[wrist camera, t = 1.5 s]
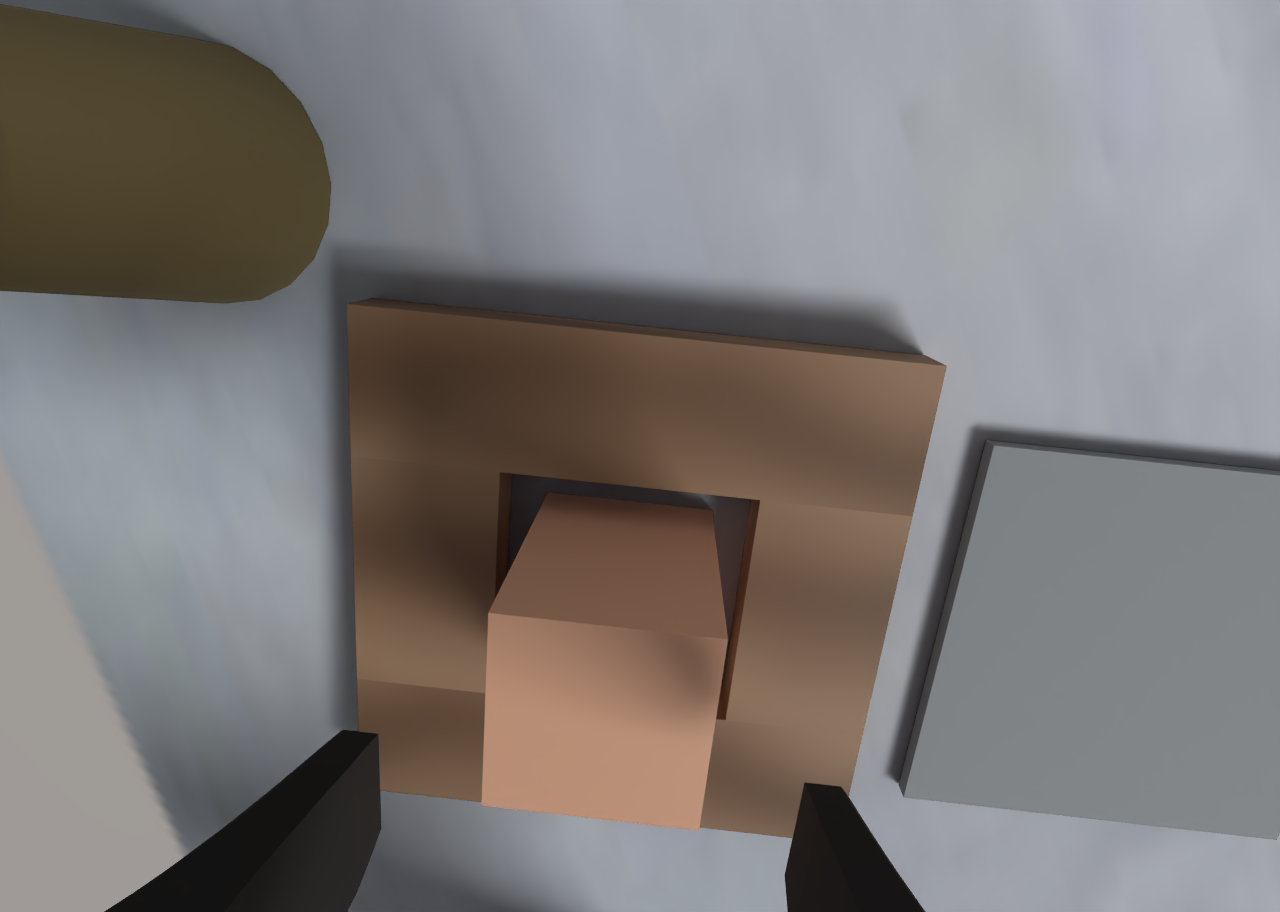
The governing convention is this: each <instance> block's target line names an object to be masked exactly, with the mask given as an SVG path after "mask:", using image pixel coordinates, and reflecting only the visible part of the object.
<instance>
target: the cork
mask: <svg viewBox="0 0 1280 912" xmlns="http://www.w3.org/2000/svg"><path fill="white" fill-rule="evenodd" d="M330 193H331V181H330V177H329V172H328V168H327V163H326V158H325V154H324V149H323V145H322V141H321V139H320V138H319V136H318V134H317V132H316V130H315V128H314V126H313V124H312V122H311V120H310V118H309V117H308V115H307V113H306V111H305V109H304V107H303V105H302V103H301V102H300V101H299V100H298V99H297V98H296V97H295V95H294V94H293V93H292V92H291V91H290V90H289V89H288V88H287V87H286V86H285V85H284V84H283V83H282V82H281V80H280V79H279V78H278V77H277V76H276V75H275V74H274V73H273V72H272V71H271V70H270V69H268V68H267V67H265V66H263V65H262V64H260V63H258V62H257V61H255V60H253V59H252V58H250V57H248V56H247V55H245V54H243V53H242V52H240V51H238V50H237V49H235V48H233V47H229V46H225V45H220V44H216V43H212V42H207V41H203V40H198V39H194V38H189V37H183V36H177V35H172V34H166V33H160V32H155V31H149V30H144V29H138V28H132V27H127V26H121V25H115V24H110V23H104V22H98V21H93V20H87V19H82V18H76V17H70V16H65V15H59V14H53V13H48V12H42V11H36V10H31V9H25V8H20V7H14V6H8V5H3V4H0V291H15V292H32V293H50V294H68V295H85V296H103V297H121V298H138V299H156V300H174V301H191V302H209V303H233V302H242V301H251V300H260V299H262V298H264V297H266V296H268V295H270V294H272V293H274V292H276V291H278V290H280V289H282V288H284V287H286V286H288V285H290V284H291V283H292V282H293V281H294V280H295V279H296V278H297V276H298V275H299V274H300V273H301V272H302V271H303V270H304V269H305V268H306V267H307V266H308V265H309V263H310V262H311V261H312V260H313V259H314V257H315V255H316V252H317V250H318V248H319V245H320V243H321V240H322V238H323V236H324V233H325V231H326V228H327V226H328V219H329V206H330Z"/></svg>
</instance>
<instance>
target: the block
mask: <svg viewBox="0 0 1280 912" xmlns="http://www.w3.org/2000/svg"><path fill="white" fill-rule="evenodd" d="M727 643H728V635H727V627H726V619H725V611H724V603H723V594H722V586H721V578H720V570H719V562H718V554H717V546H716V538H715V530H714V522H713V514H712V510H708V509H698V508H689V507H680V506H671V505H661V504H652V503H643V502H633V501H624V500H615V499H605V498H596V497H587V496H577V495H568V494H559V493H549V492H548V493H547V495H546V497H545V499H544V501H543V503H542V505H541V507H540V509H539V511H538V513H537V515H536V517H535V519H534V522H533V524H532V526H531V528H530V530H529V532H528V534H527V536H526V538H525V540H524V542H523V544H522V546H521V548H520V550H519V552H518V554H517V556H516V558H515V560H514V562H513V564H512V566H511V568H510V570H509V572H508V574H507V576H506V578H505V580H504V582H503V584H502V586H501V588H500V590H499V592H498V594H497V596H496V598H495V600H494V602H493V604H492V606H491V608H490V611H489V613H488V636H487V665H486V693H485V721H484V750H483V778H482V806H491V807H499V808H508V809H517V810H525V811H534V812H543V813H551V814H560V815H568V816H577V817H586V818H594V819H603V820H612V821H620V822H629V823H637V824H646V825H655V826H663V827H672V828H680V829H689V830H698V831H699V827H700V821H701V814H702V807H703V801H704V794H705V788H706V781H707V775H708V768H709V761H710V755H711V748H712V742H713V735H714V729H715V722H716V716H717V709H718V702H719V696H720V689H721V683H722V676H723V670H724V663H725V656H726V650H727Z"/></svg>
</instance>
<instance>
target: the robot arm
mask: <svg viewBox="0 0 1280 912" xmlns="http://www.w3.org/2000/svg"><path fill="white" fill-rule="evenodd" d="M380 830H381V805H380V769H379V734H376V733H367V732H359V731H350V730H342V731H341V732H340V733H338V734H337V735H336V736H334V737H333V738H332V739H331V740H330V741H328V742H327V743H326V744H325V745H324V746H322V747H321V748H320V749H319V750H318V751H316V752H315V753H314V754H313V755H312V756H311V757H309V758H308V759H307V760H306V761H305V762H303V763H302V764H301V765H300V766H299V767H298V768H296V769H295V770H294V771H293V772H292V773H290V774H289V775H288V776H287V777H286V778H284V779H283V780H282V781H281V782H280V783H278V784H277V785H276V786H275V787H274V788H272V789H271V790H270V791H269V792H268V793H266V794H265V795H264V796H263V797H261V798H260V799H259V800H258V801H256V802H255V803H254V804H253V805H251V806H250V807H249V808H248V809H246V810H245V811H244V812H243V813H241V814H240V815H239V816H238V817H237V818H235V819H234V820H233V821H232V822H230V823H229V824H228V825H226V826H225V827H224V828H223V829H221V830H220V831H219V832H217V833H216V834H215V835H213V836H212V837H211V838H209V839H208V840H207V841H205V842H204V843H202V844H201V845H200V846H198V847H197V848H196V849H194V850H193V851H192V852H190V853H189V854H188V855H186V856H185V857H184V858H182V859H181V860H180V861H178V862H177V863H176V864H174V865H173V866H172V867H170V868H169V869H167V870H166V871H165V872H163V873H162V874H160V875H159V876H157V877H156V878H154V879H153V880H152V881H150V882H149V883H147V884H146V885H144V886H143V887H141V888H140V889H138V890H137V891H135V892H134V893H133V894H131V895H129V896H128V897H126V898H125V899H123V900H122V901H120V902H119V903H117V904H116V905H114V906H112V907H111V908H109V909H108V910H106V911H105V912H347V911H348V909H349V907H350V905H351V903H352V901H353V899H354V897H355V895H356V893H357V891H358V888H359V886H360V883H361V880H362V878H363V875H364V873H365V870H366V868H367V865H368V863H369V860H370V857H371V854H372V852H373V849H374V846H375V844H376V841H377V838H378V836H379V833H380ZM785 883H786V895H787V907H788V912H925V911H924V909H923V908H922V906H921V905H920V904H919V902H918V901H917V899H916V898H915V897H914V895H913V894H912V892H911V891H910V889H909V888H908V887H907V885H906V884H905V882H904V881H903V880H902V878H901V877H900V875H899V874H898V872H897V871H896V869H895V868H894V866H893V865H892V863H891V862H890V861H889V859H888V857H887V856H886V854H885V853H884V851H883V850H882V848H881V847H880V845H879V844H878V842H877V841H876V839H875V838H874V836H873V835H872V833H871V832H870V830H869V828H868V827H867V825H866V824H865V822H864V821H863V819H862V817H861V816H860V814H859V813H858V811H857V809H856V808H855V806H854V805H853V803H852V801H851V800H850V798H849V797H848V795H847V794H846V792H845V791H844V790H843V788H842V787H841V786H832V785H824V784H815V783H806V782H804V787H803V792H802V796H801V801H800V806H799V811H798V815H797V820H796V825H795V829H794V834H793V839H792V844H791V848H790V853H789V858H788V863H787V867H786V872H785Z"/></svg>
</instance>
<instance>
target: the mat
mask: <svg viewBox="0 0 1280 912" xmlns="http://www.w3.org/2000/svg"><path fill="white" fill-rule="evenodd" d="M899 787H900V789H901V792H902V794H903V797H905V798H914V799H923V800H931V801H940V802H949V803H958V804H966V805H975V806H984V807H993V808H1001V809H1010V810H1019V811H1028V812H1037V813H1045V814H1054V815H1063V816H1072V817H1080V818H1089V819H1098V820H1107V821H1115V822H1124V823H1133V824H1142V825H1150V826H1159V827H1168V828H1177V829H1186V830H1194V831H1203V832H1212V833H1221V834H1229V835H1238V836H1247V837H1256V838H1264V839H1273V840H1277V838H1278V836H1279V833H1280V471H1275V470H1266V469H1256V468H1247V467H1237V466H1228V465H1218V464H1209V463H1199V462H1190V461H1180V460H1171V459H1161V458H1152V457H1142V456H1133V455H1123V454H1114V453H1104V452H1095V451H1085V450H1076V449H1066V448H1057V447H1047V446H1037V445H1028V444H1018V443H1009V442H999V441H990V440H986V442H985V446H984V450H983V454H982V458H981V462H980V466H979V470H978V474H977V478H976V481H975V485H974V489H973V493H972V497H971V501H970V505H969V509H968V513H967V517H966V521H965V525H964V529H963V533H962V537H961V541H960V545H959V549H958V553H957V557H956V561H955V564H954V568H953V572H952V576H951V580H950V584H949V588H948V592H947V596H946V600H945V604H944V608H943V612H942V616H941V620H940V624H939V628H938V632H937V636H936V640H935V644H934V647H933V651H932V655H931V659H930V663H929V667H928V671H927V675H926V679H925V683H924V687H923V691H922V695H921V699H920V703H919V707H918V711H917V715H916V719H915V723H914V727H913V730H912V734H911V738H910V742H909V746H908V750H907V754H906V758H905V762H904V766H903V770H902V774H901V778H900V782H899Z"/></svg>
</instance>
